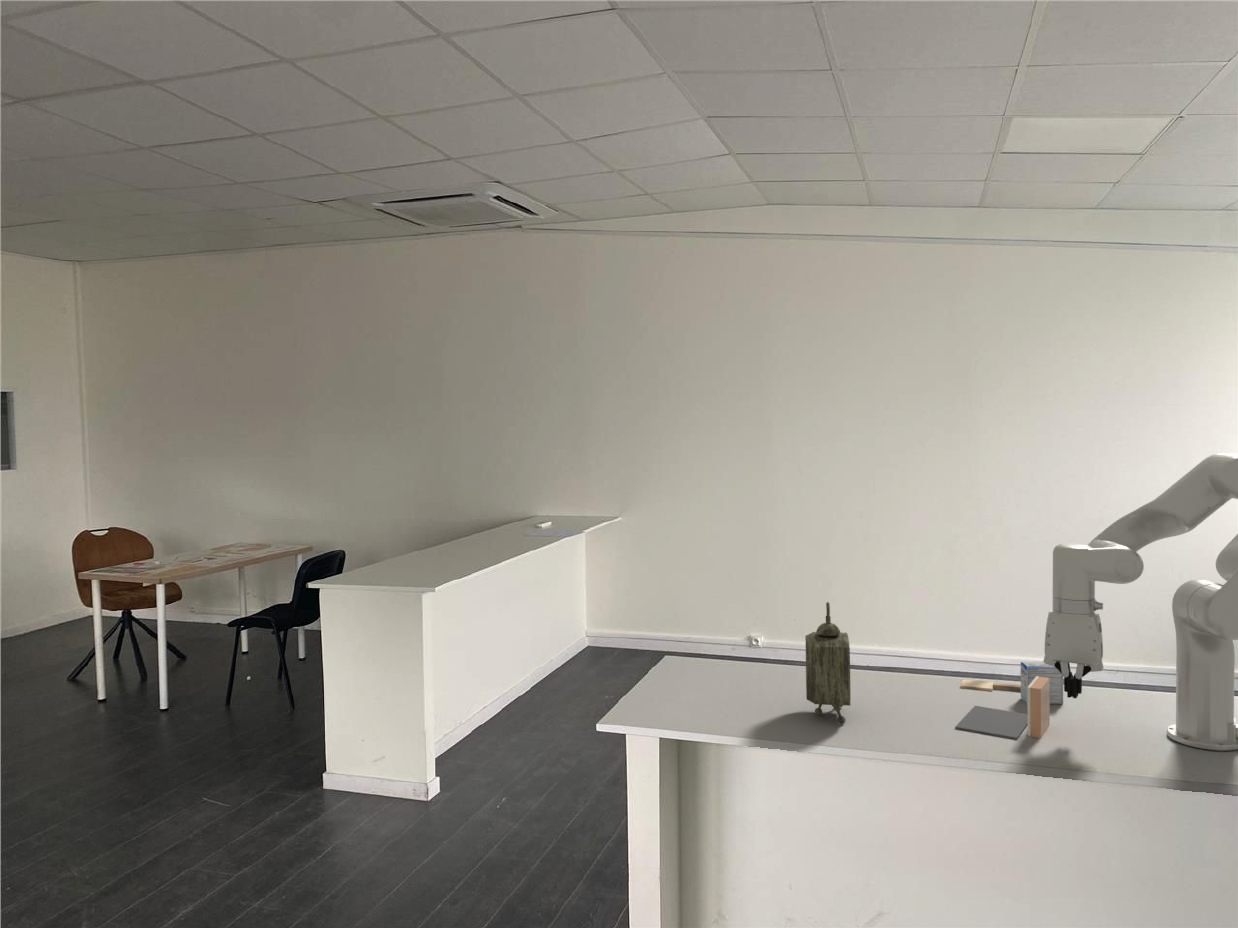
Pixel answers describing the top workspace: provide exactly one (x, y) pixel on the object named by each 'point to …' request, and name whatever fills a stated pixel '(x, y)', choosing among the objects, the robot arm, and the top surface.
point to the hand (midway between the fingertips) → (1072, 695)
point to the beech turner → (988, 685)
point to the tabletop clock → (828, 667)
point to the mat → (994, 722)
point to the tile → (1038, 706)
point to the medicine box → (1042, 670)
